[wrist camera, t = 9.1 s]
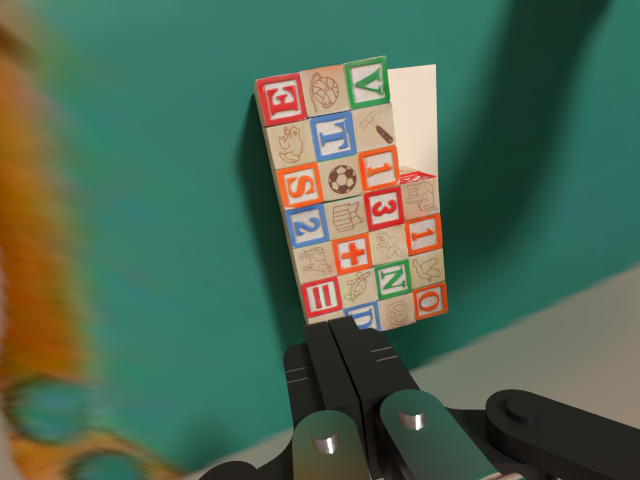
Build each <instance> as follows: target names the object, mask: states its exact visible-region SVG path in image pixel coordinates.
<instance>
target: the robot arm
mask: <svg viewBox="0 0 640 480" xmlns="http://www.w3.org/2000/svg"><path fill="white" fill-rule="evenodd" d="M302 328H303V334H304V340H305V343H301V344H297V345H292V346H288V349H287V351H286V353H285V355H284V358H283V361H284V368H285V374H286V380H287V387H288V393H289V399H290V405H291V412H292V418H293V425H294V430H293V435H292V438H291V440H290V442H289V444H288V446H287V447H286V448H285V450H284V451H283V452H282V453H281V454H280V455H278V456H277V457H276V458H275V459H273V460H272V461H270V462H268V463H267V464H265V465H263V466H262V467H260V468H258V469H256V468H255V467H254V466H253V465H251V464H249V463H247V462H243V461H230V462H226V463H223V464H220V465H218V466H216V467H214V468H212V469H211V470H209V471H208V472H207V473H205V474H204V475H203V476H202V477H201V478H200V479H199V480H370V476H371V478H372V480H376V479H379V478H384V480H558V478H560V479H562V480H640V429H637V428H634V427H631V426H628V425H625V424H622V423H619V422H616V421H613V420H610V419H607V418H604V417H601V416H599V415H596V414H592V413H590V412H587V411H584V410H581V409H578V408H575V407H572V406H569V405H566V404H563V403H560V402H557V401H554V400H552V399H549V398H546V397H543V396H539V395H536V394H534V393H531V392H527V391H523V390H514V389H513V390H512V389H509V390H502V391H499V392H496V393H494V394H493V395H491V396H490V397H489V399H488V400H487V402H486V410H459V409H451V408H447V407H444V406H443V404H442V403H441V402H440V401H439V400H438V399H437V398H435V397H434V396H433V395H431V394H429V393H426V392H424V391H421V390H420V389H419V387H418V386H417V384H416V383H415V381H414V380H413V378H412V376H411V375H410V373H409V372H408V370H407V369H406V367H405V366H404V364H403V363H402V361H401V360H400V358H399V357H398V356H397V353H396V352H395V350H394V349H393V348H392V347H391V344H390V343H389V341H388V340H387V338H386V337H385V335H384V334H382V333H380V332H379V331H377V330H375V329H374V328H372V327H370V328H366V329H362V330H359V328H358V326H357V325H356V323H355V321H354V319H353V317H352V316H351V315H348V316H344V317H339V318H335V319H330V320H327V322H326V321H322V322H317V323H313V324H308V325H304V326H302ZM368 470H369V472H368ZM369 473H370V476H369Z"/></svg>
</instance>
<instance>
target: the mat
mask: <svg viewBox="0 0 640 480" xmlns="http://www.w3.org/2000/svg"><path fill="white" fill-rule="evenodd" d="M387 71H388V81H389V89H390V102H391V103H392V110H393V119H394V128H395V136H396V147H397V152H398V162H399V167H404V166H407V167H410V168H413V169H416V170H419V171H420V172H423V173H427V174H430V175H435V176H437V180H438V154H437V107H436V64H435V65H426V66H417V67H408V68H399V69H391V70H387Z"/></svg>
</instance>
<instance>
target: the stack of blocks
mask: <svg viewBox="0 0 640 480" xmlns="http://www.w3.org/2000/svg"><path fill="white" fill-rule="evenodd" d="M253 89H254V94H255V99H256V103H257V108H258V112H259V117H260V121H261V125H262V130H263V134H264V139H265V143H266V148H267V152H268V157H269V161H270V166H271V171H272V175H273V180H274V184H275V188H276V193H277V197H278V202H279V206H280V211H281V215H282V220H283V224H284V228H285V234H286V238H287V243H288V247H289V252H290V256H291V259H292V265H293V270H294V274H295V279H296V283H297V287H298V292H299V296H300V300H301V305H302V310H303V314H304V318H305V321H306V324H307V325H308V324H313V323H317V322H322V321H326V322H327V320H330V319H335V318H339V317H344V316H348V315H351V316H352V317H353V319H354V321H355V323H356V325H357V326H358V328H359V330H362V329H366V328H370V327H372V328H374V329H375V330H377V331H379V332H380V331H386V330H389V329H394V328H397V327H401V326H404V325H408V324H412V323H415V322H416V320H421V319H425V318H428V317H432V316H436V315H439V314H443V313H446V312H448V303H447V291H446V283H445V281H444V280H445V273H444V260H443V249H442V230H441V218H440V205H439V192H438V180H437V176H435V175H430V174H427V173H423V172H420V171H419V170H416V169H413V168H410V167H407V166H404V167H399V162H398V152H397V147H396V136H395V128H394V119H393V110H392V103H391V102H390V89H389V81H388V71H387V61H386V56H381V57H375V58H369V59H364V60H359V61H354V62H348V63H344V64H342V65H335V66H328V67H322V68H316V69H310V70H303V71H300V72H299V73H291V74H284V75H278V76H272V77H267V78H262V79H258V80H255V82H254V87H253Z"/></svg>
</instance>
